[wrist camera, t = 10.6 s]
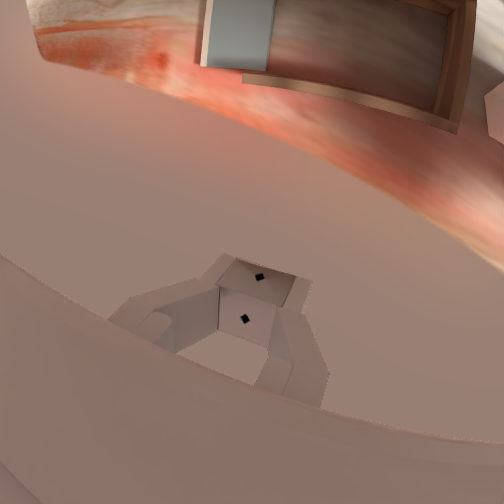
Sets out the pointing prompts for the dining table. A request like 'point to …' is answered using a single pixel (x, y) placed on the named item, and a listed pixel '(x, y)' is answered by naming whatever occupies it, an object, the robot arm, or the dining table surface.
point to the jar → (495, 112)
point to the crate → (451, 78)
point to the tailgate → (237, 34)
